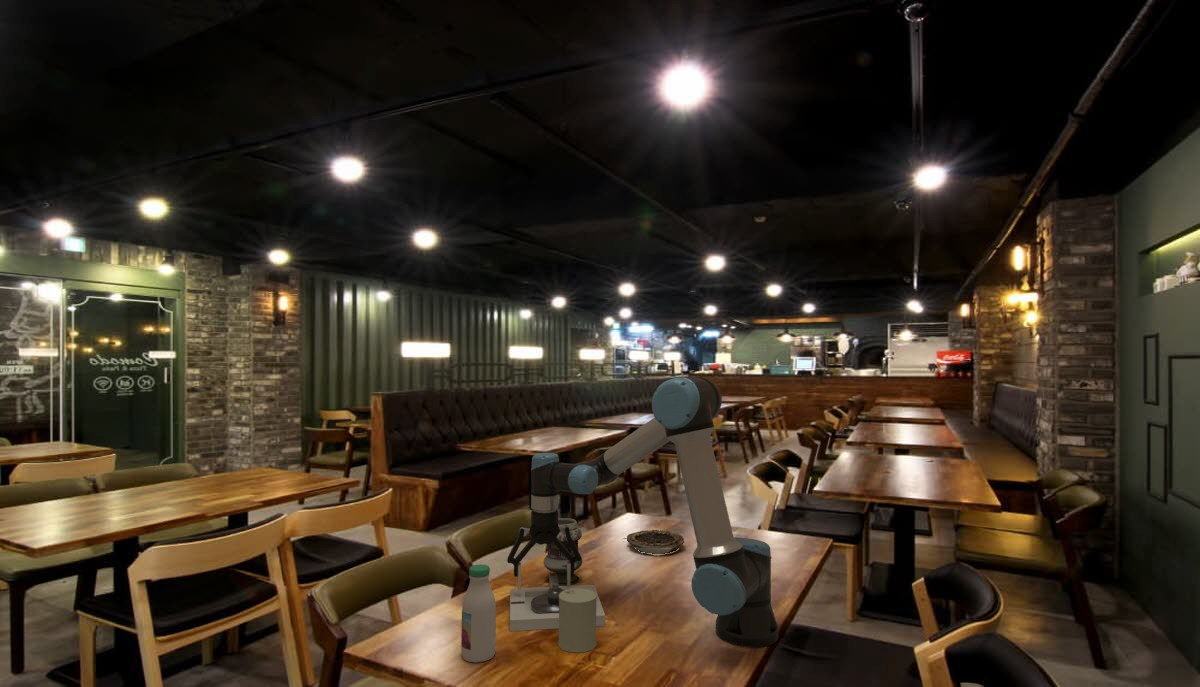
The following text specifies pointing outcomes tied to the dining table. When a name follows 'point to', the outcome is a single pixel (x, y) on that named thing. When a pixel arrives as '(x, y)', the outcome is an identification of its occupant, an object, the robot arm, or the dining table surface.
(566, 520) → the apothecary jar
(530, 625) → the panel
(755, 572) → the robot arm
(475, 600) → the milk bottle
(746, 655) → the dining table surface
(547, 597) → the dial
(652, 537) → the pie
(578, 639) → the can
